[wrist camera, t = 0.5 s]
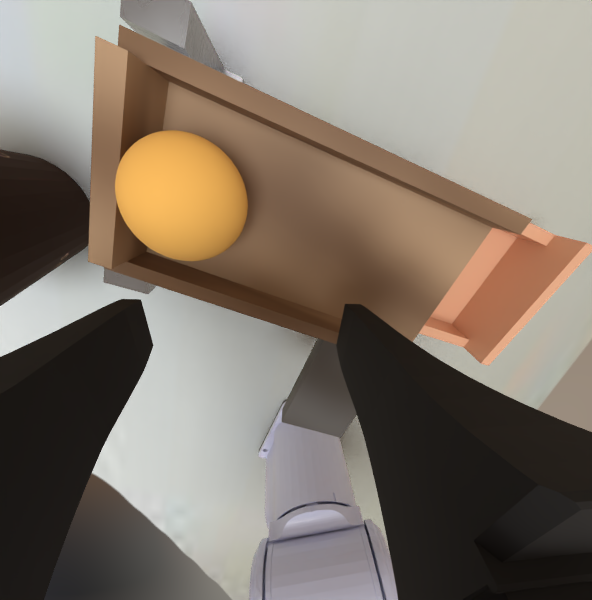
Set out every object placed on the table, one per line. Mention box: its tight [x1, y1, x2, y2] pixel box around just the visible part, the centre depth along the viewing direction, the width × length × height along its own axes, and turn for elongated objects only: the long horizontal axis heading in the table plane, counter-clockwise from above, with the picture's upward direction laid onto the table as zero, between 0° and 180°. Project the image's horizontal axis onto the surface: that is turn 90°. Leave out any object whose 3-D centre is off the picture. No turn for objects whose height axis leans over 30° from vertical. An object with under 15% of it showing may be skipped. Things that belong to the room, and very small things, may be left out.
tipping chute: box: [88, 25, 532, 438], centre depth 12 cm, size 15×15×3 cm
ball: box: [115, 130, 248, 261], centre depth 9 cm, size 4×4×4 cm
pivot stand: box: [104, 0, 244, 294], centre depth 13 cm, size 11×4×7 cm, turn 159°
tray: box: [419, 223, 592, 366], centre depth 19 cm, size 10×10×5 cm
